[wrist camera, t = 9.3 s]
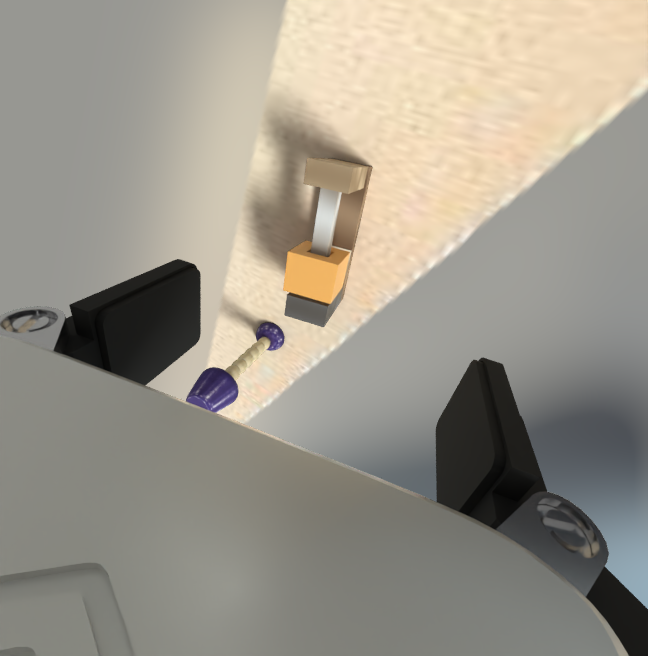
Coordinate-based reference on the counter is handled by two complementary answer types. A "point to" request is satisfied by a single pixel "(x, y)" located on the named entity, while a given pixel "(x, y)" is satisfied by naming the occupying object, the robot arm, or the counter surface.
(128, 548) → the robot arm
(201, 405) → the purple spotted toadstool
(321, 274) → the sleeve
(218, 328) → the counter surface
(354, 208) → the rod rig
